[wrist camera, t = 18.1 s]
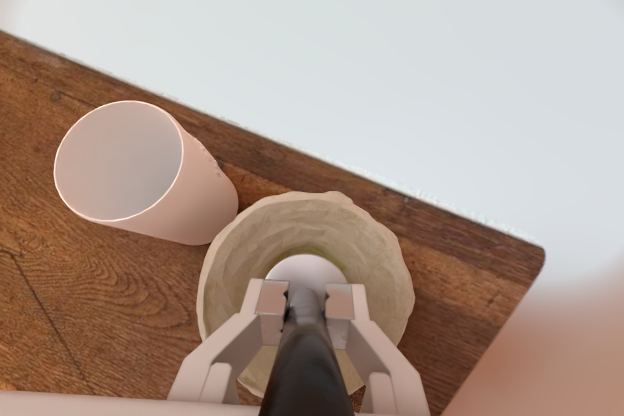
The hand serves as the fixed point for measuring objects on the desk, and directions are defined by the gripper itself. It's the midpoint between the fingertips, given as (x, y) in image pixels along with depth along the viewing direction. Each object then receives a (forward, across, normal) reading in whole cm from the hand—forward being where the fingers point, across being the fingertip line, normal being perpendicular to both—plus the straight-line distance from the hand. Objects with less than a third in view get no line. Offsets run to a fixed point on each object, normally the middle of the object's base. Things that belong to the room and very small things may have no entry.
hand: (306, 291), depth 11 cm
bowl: (+10, -1, +12) cm, 16 cm away
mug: (+17, +13, +6) cm, 22 cm away
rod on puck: (+5, 0, +6) cm, 7 cm away
